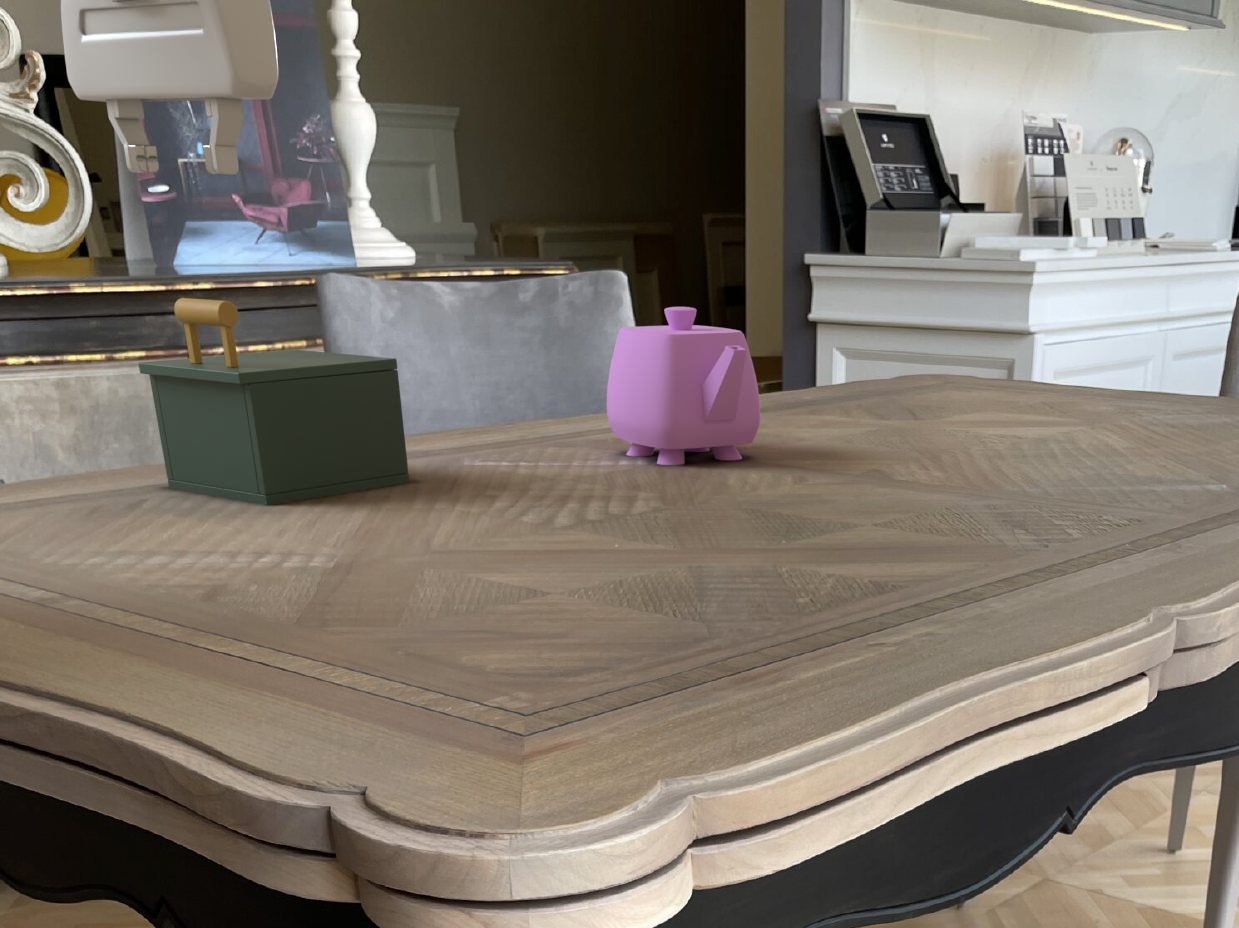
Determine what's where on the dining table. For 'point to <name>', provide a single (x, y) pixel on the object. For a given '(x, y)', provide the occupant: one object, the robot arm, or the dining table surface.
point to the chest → (282, 436)
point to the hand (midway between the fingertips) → (182, 173)
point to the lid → (252, 364)
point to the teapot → (682, 389)
